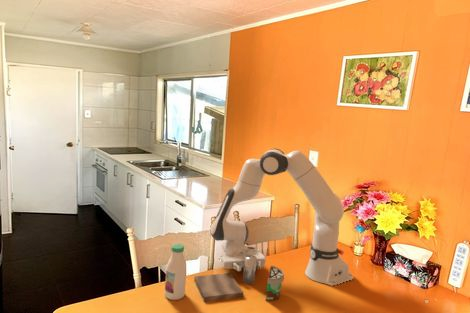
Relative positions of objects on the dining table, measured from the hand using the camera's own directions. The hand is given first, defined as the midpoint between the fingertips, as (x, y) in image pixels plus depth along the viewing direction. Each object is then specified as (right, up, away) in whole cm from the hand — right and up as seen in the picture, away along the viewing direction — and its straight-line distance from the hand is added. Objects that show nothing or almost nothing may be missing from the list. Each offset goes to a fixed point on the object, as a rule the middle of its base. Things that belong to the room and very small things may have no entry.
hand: (250, 268), depth 144 cm
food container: (+9, -8, -9) cm, 15 cm away
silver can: (-1, -6, +1) cm, 6 cm away
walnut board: (-14, -6, -7) cm, 16 cm away
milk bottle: (-30, -6, -14) cm, 34 cm away
